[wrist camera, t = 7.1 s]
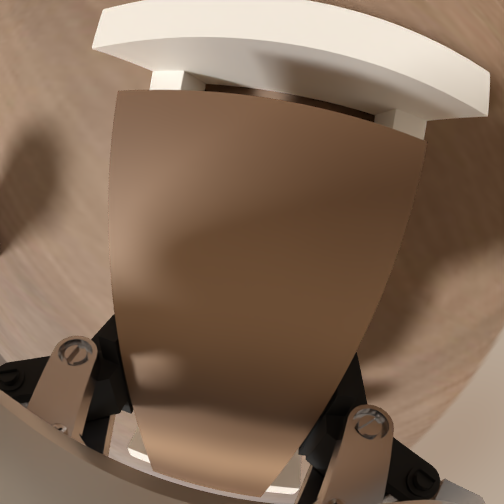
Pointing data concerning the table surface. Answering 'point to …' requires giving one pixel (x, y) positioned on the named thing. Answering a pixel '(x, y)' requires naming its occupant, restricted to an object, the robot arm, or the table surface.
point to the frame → (296, 71)
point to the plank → (246, 269)
